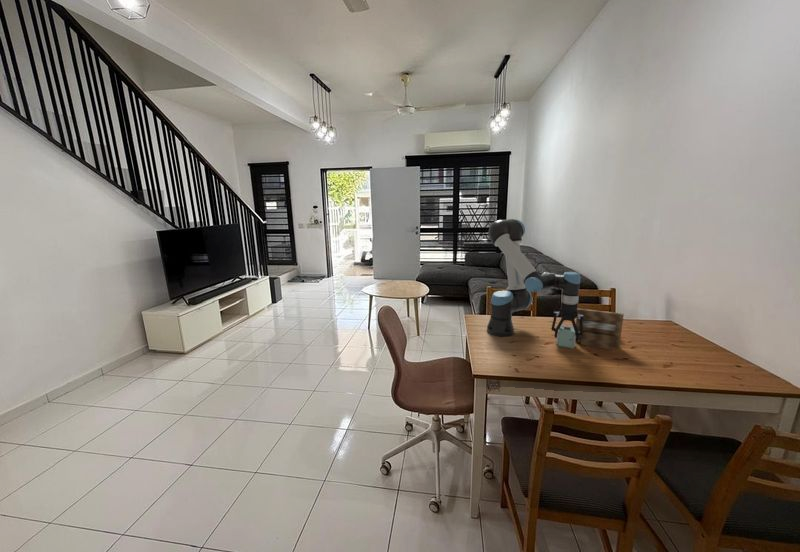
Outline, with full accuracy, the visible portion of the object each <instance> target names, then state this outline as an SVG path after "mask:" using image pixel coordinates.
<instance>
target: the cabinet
mask: <svg viewBox="0 0 800 552" xmlns="http://www.w3.org/2000/svg"><path fill="white" fill-rule="evenodd" d="M558 331H559V337H558V345H557V346H558V347H561V348H566V349H567V348H568V349H574V347H573V343H574V334H575V330H574V327H573V325H569V324H562V325H561V326H560V328H559V330H558Z"/></svg>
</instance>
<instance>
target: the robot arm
mask: <svg viewBox="0 0 800 552" xmlns="http://www.w3.org/2000/svg"><path fill="white" fill-rule="evenodd" d="M525 231H526V228H525V224H524V223H523V222H522V221H521V220H519V219H516V218H515V219H514V218H508V219H498V220H497V219H496V220H495V221H493V222H492V223H491V224H490V226H489V229H488V237H489V240H490V241H491V242H492V244H493V245H494V246H495V247H496V248H497V247H498V248H499V250H500V251H501V252H502V254H503V255H504V256H505V265H506V273H507V283H508V284H507V285H508V286H507V287H506V289H505V290H497V291H495V292H493V293H492V295H491V299H490V318H489V321H488V323H487V325H486V331H488V332H489V334H490V333H491V334H490V335H492V334H494V335H493V336H496V335H497V336H498V337H509V335H510V336H512V334H513V335H514V334H515V327H514V324H513V320H512V315H513V313H515V312H519V311H524V310H526V309H528V308H529V307H531V305H532V302H533V295H532V293H538V292H540V291H541V292H542V291H545V290H549V289H556V290H561V298H560V299H561V300H560V301H561V302H560V310H559V311H553V320H552V325H551V328H550V329H551V331H552V332H554V339H555V338H556V341H555V342H556V345H557V346H558V337H559V328H560V327H561V325H563V323H564V321H569V322H571V324H572V326H573V327H574V330H575V333H576V334H574V343H573V348H575V346H576V342H575V341H578V336H579V335H583V325H582V320H583V318H584V316H583V315H579V314H578V313H577V308H579V296H580V295H579V294H580V285H581V274H580V273H579V272H577V271H576V272H575V271H565V272H564V273H563V274H559V273H553V272H551V271H550V272H548V271H547V272H546V271H545V272H543V273H542V274H540V273H539V271H537V269H536V268H535V267H534V266H533V264H532V263H531V262H530V261H529V259H527V257H526V256H525V255H524V254H523V253H522V251H521V245H520V244H521V243H522V242H523V239H522V238H523V237H524V234H525V233H526V232H525ZM558 316H560V317H561V318H560V321H559V322H558V324H557V325H556V323H557V319H558V318H557V317H558ZM577 316H578V319H580V332H578V329H577V326H576V320H575V319H576V318H577ZM488 332H487V333H488Z"/></svg>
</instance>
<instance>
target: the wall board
mask: <svg viewBox="0 0 800 552" xmlns="http://www.w3.org/2000/svg"><path fill="white" fill-rule="evenodd" d="M577 313H578V314H579V315H583V316H584V318H583V320H582V325H583V335H579V336H578V341H575V343H580V345H581V346H588V347H594V348H601V349H605V350H606V349H607V350H612V351H613V349H614V348H615V349H620V345H621V337H622V329H623V323H624V313H621V312H615V311H613V312H612V311H606V310H605V311H604V310H595V309H587V308H581V307H580V308H579V307H578V308H577ZM575 319H576V320H575V323H576V326H577V329H578V332H580V319H578V316H577V317H576V318H575ZM575 334H576V333H575Z"/></svg>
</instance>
